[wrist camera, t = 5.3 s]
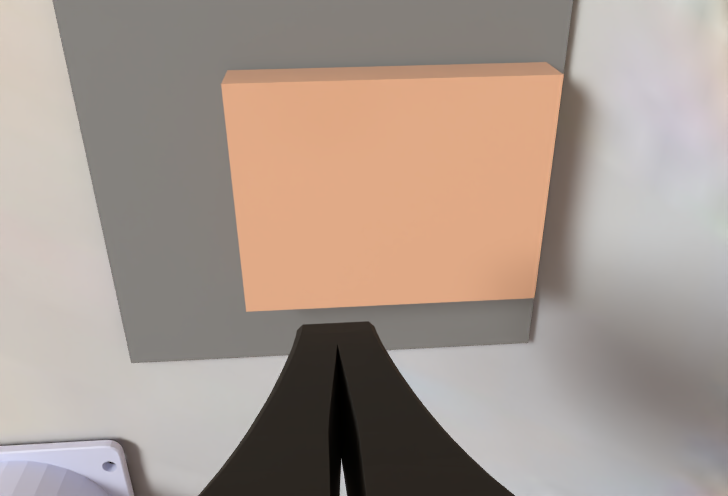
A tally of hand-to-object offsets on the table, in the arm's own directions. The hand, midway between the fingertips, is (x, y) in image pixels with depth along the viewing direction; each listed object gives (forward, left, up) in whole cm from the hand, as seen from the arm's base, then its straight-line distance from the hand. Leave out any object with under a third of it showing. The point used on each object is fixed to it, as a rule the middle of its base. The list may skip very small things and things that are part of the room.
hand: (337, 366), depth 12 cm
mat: (0, 0, -9) cm, 9 cm away
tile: (0, +3, -8) cm, 9 cm away
